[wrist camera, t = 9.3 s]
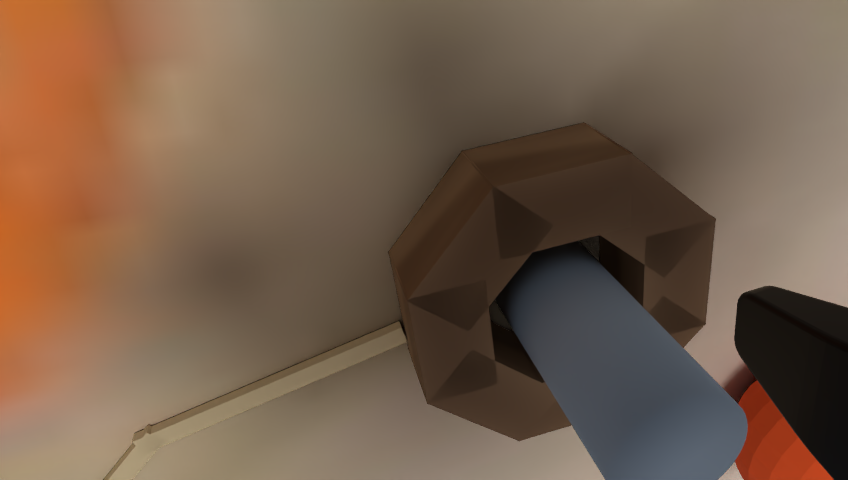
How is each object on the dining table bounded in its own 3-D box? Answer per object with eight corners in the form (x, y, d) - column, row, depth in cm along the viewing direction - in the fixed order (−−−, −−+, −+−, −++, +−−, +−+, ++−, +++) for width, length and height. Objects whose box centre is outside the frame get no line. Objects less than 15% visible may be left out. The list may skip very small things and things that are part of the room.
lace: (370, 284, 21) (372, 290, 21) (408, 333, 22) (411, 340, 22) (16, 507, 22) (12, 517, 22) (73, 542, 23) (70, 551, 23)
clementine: (737, 476, 32) (853, 612, 25) (652, 437, 28) (761, 581, 22) (856, 362, 29) (1012, 480, 23) (778, 306, 26) (935, 425, 20)
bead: (666, 102, 21) (724, 130, 18) (655, 338, 26) (699, 386, 23) (371, 171, 19) (389, 211, 17) (419, 406, 24) (439, 465, 22)
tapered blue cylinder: (578, 211, 22) (756, 376, 14) (580, 295, 24) (739, 482, 16) (480, 236, 21) (609, 421, 14) (490, 319, 23) (609, 525, 15)
